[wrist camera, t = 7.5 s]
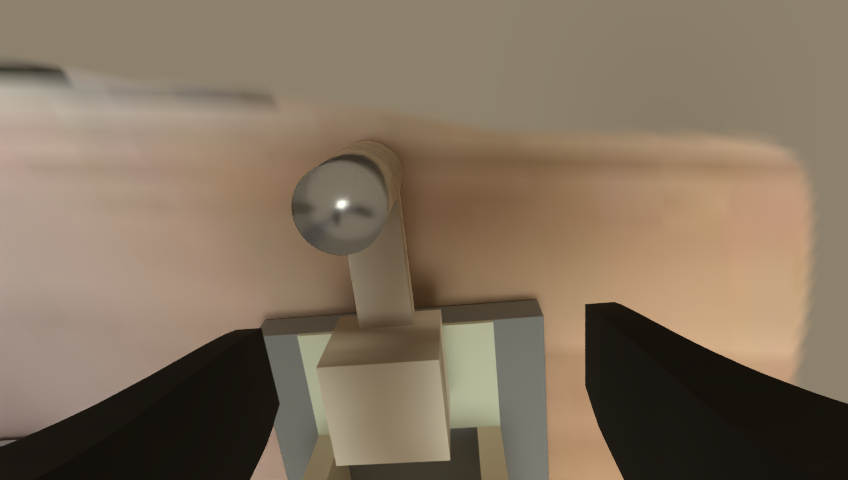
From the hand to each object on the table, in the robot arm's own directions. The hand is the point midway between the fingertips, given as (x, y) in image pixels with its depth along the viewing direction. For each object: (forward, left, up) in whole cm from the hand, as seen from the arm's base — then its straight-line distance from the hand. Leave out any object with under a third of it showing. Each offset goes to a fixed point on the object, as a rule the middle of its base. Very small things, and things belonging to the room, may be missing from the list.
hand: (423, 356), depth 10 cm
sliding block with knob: (-2, -1, -7) cm, 8 cm away
